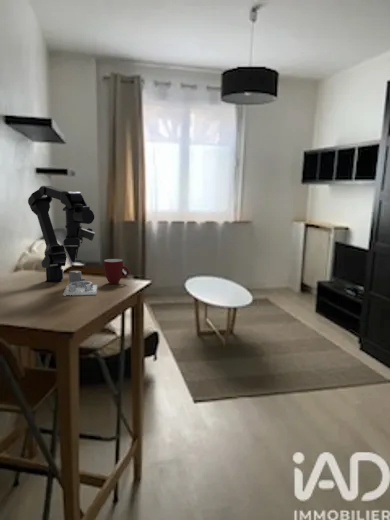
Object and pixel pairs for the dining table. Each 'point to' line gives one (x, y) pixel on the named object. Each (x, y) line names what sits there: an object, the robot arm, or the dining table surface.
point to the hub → (80, 288)
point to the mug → (114, 270)
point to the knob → (75, 276)
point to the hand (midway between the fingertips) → (74, 260)
